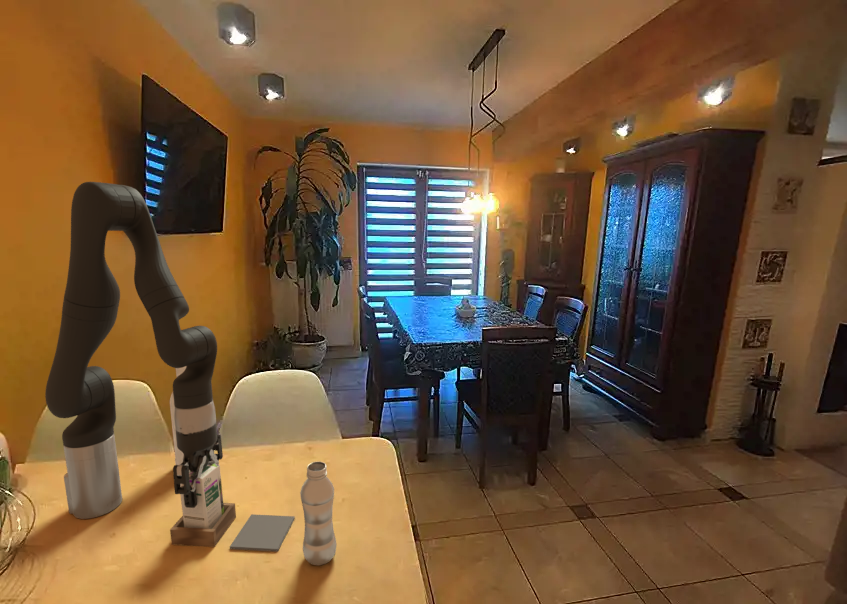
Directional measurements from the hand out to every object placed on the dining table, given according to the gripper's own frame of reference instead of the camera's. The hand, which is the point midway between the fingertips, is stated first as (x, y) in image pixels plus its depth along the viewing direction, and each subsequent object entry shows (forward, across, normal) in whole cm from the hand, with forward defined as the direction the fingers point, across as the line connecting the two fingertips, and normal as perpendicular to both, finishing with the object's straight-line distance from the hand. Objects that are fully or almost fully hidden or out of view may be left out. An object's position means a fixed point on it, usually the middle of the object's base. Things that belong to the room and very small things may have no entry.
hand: (202, 494), depth 93 cm
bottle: (+9, -24, -17) cm, 31 cm away
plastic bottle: (+9, +6, +27) cm, 29 cm away
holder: (+9, 0, 0) cm, 9 cm away
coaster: (+9, 0, +13) cm, 16 cm away
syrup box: (+9, 0, 0) cm, 9 cm away
